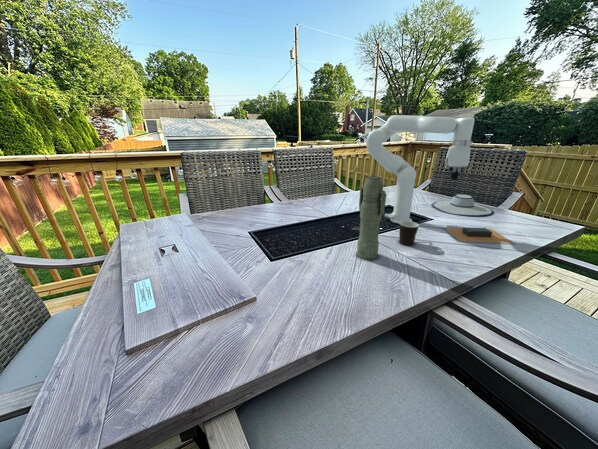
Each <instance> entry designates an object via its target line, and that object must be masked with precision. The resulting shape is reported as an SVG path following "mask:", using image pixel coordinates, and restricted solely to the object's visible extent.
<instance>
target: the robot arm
mask: <svg viewBox="0 0 598 449" xmlns="http://www.w3.org/2000/svg"><path fill="white" fill-rule="evenodd" d="M475 121H476V120H475V118H474V117H471V116H470V117H468V116H467V117H466V116H465V117H459V118H454V117H451V116H427V115H426V116H425V115H410V114H408V115H403V114H394V115H391V116H389V117H388V119H387V120H386V122H385V123H384V124H383V125H382V126H380V127H379V128H378V129H377V128H376V129H373V130H371V131H370V132H369V133H368V135H367V138H366V141H365V146H366V150H367V152H368V153H369V155H370V156H371V157H372V158H373V159H374V160H375V161H376V162H377V163H378V164H379V165H380V166H381V167H383V169H384V170H386V172H388V173H392V174H394V175H395V176H397V177H396V184H395V185H396V186H395V194H394V195H395V196H394V202H393V204H394V205H393V211H392V212H391V213H384V217H385V218H387V219H389V221H390V222H391V223H394V224H398V225H400V222H402V221H411V222H413V219H412V218H411V212H412V211H411V210H412V204H413V196H414V189H415V183H416V179H417V171H416V169H415V168H414V167H413V166H412V165H411V164H409V162H408V161H406V160H405V159H404V158H403V157H402V156H400V155H398V154H394V153H392V152H391V151H390V150H389V148H386V147H385V146H384V145H383V143H385V142H387V140H389V139H390V138H391V137H393V136H394V135H395V134H397V133H413V134H420V133H421V134H422V133H423V134H424V133H427V134H445V135H447V134H452V133H453V139H452V143H451V146H449V148H448V150H447V153H446V157H445V159H444V160H445V161H444V165H445V166H444V168H445V169H446V170H447V169H448V170H449V171H450V180H452V181H457V179H458V177H459V174H460V173H461V171H462V170H466V169H468V166H469V165H470V160H471V145H472V144H473V143H474V141H473V140H472V136H473V135H472V134H473V130H474V125H475Z"/></svg>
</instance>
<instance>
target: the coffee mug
mask: <svg viewBox="0 0 598 449" xmlns="http://www.w3.org/2000/svg"><path fill="white" fill-rule="evenodd" d="M419 227H420V224H419V223H417V222H415V221H412V222H411V221H402V222H400V224H399V231H398V232H399V236H398V238H399V244H401V245H402V246H406V247H407V246H408V247H410V246H413V245H414V243H415V239H416V237H417V233H418V230H419Z"/></svg>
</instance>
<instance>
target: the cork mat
mask: <svg viewBox="0 0 598 449" xmlns="http://www.w3.org/2000/svg"><path fill="white" fill-rule="evenodd" d="M444 229H446V231H447V232H448V233H449V234H451V235H452V236H453V237H454V238H455V239H457V241H459V242H479V243H480V242H481V243H506V244H507V243H508V244H513V242H512V241H511V240H509V239H507V238H506V237H504V236H503V235H501V234H500V233H498V232H496V231H495V230H493V229H491V228H487V229H488V230H489V231H491V232H492V235H491V237H469V236H466V235H465V234H464V233H463V232H462V230H463V227H444Z"/></svg>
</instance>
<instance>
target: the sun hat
mask: <svg viewBox="0 0 598 449" xmlns="http://www.w3.org/2000/svg"><path fill="white" fill-rule="evenodd" d="M431 206H432V207H433V208H435V209H436V210H438V211H440V212H443V213H445V214H450V215H454V216H468V217H483V216H490V215H493V214H494V210H493V209H491V208H489V207H486V206H483V205H481V204H478V203H477V202H476V203H475V199H474V197H473V196H472V195H469V194H461V193H460V194H458V193H457V194H455V195H453V197H452V199H443V200H437V201H434V202H433V203H432V204H431Z"/></svg>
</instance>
